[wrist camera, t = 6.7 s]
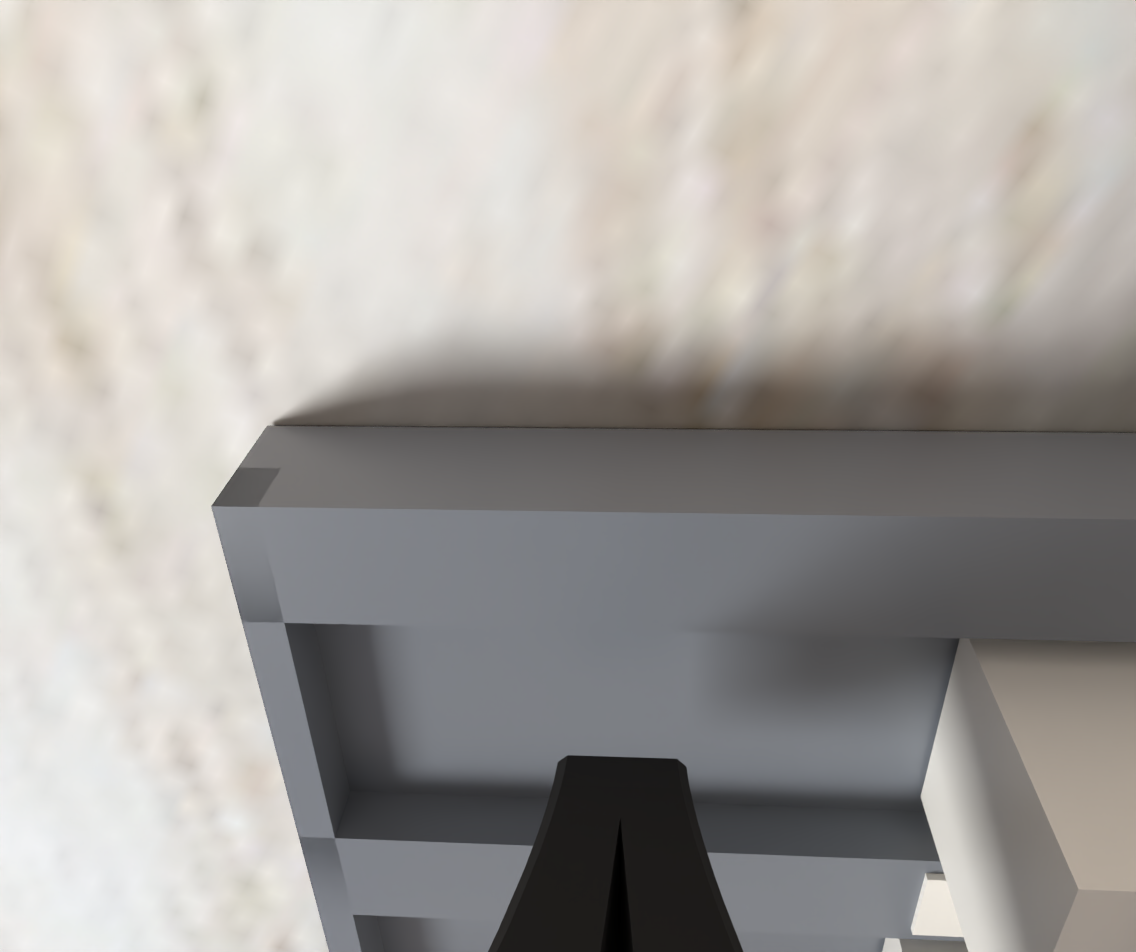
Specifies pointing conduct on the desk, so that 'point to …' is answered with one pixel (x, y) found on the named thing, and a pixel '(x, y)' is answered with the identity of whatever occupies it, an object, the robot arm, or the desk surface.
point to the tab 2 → (1038, 794)
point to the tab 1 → (923, 945)
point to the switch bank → (649, 648)
